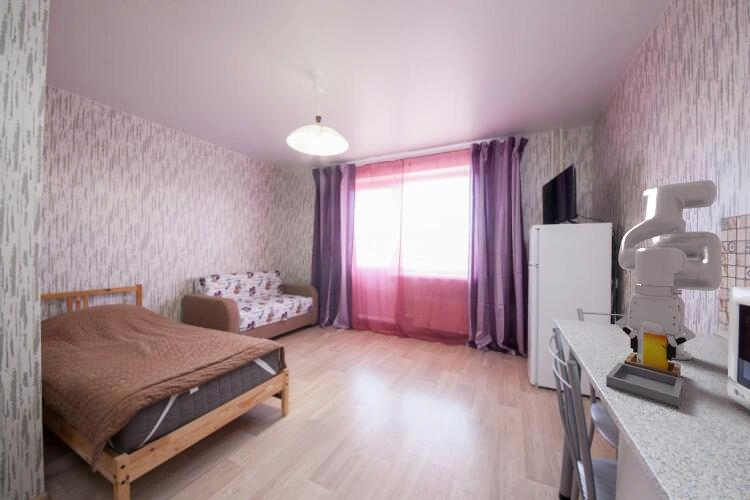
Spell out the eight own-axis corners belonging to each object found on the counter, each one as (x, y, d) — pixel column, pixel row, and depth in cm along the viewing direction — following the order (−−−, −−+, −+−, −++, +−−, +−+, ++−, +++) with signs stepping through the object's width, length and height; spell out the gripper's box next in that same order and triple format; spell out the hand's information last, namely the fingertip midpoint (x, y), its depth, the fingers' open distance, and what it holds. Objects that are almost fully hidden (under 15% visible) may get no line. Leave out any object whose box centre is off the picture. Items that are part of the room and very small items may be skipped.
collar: (630, 362, 81) (631, 352, 81) (680, 375, 74) (680, 364, 74) (624, 371, 75) (624, 360, 75) (677, 385, 67) (677, 374, 67)
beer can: (674, 379, 71) (675, 323, 71) (647, 377, 72) (648, 321, 72) (655, 369, 77) (656, 317, 77) (631, 367, 78) (631, 316, 78)
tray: (618, 371, 76) (618, 362, 75) (683, 388, 66) (683, 378, 66) (606, 386, 67) (606, 376, 67) (678, 409, 57) (678, 397, 57)
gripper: (702, 294, 70) (701, 362, 70) (615, 286, 84) (614, 343, 84) (701, 297, 65) (700, 370, 65) (609, 288, 79) (608, 349, 79)
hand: (652, 354), depth 74 cm, fingers closed on beer can, 6 cm apart
